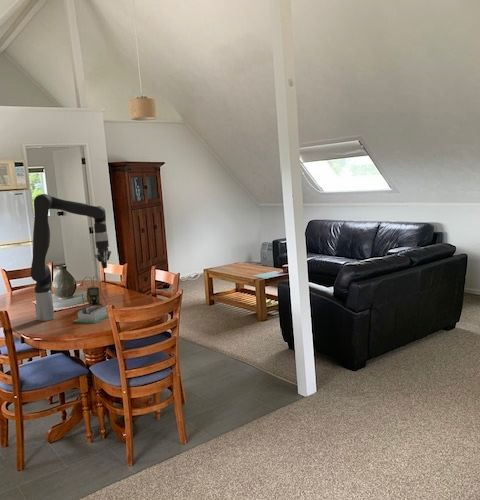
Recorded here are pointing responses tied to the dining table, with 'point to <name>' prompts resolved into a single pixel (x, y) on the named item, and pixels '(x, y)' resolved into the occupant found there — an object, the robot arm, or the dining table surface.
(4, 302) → the dining table surface
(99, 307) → the lever
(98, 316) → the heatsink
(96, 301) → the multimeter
